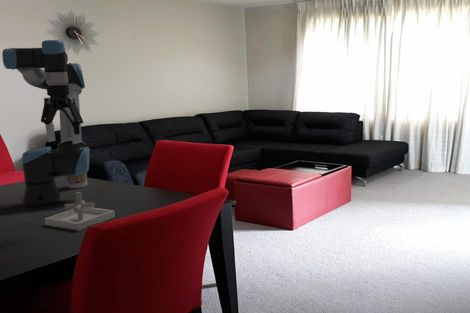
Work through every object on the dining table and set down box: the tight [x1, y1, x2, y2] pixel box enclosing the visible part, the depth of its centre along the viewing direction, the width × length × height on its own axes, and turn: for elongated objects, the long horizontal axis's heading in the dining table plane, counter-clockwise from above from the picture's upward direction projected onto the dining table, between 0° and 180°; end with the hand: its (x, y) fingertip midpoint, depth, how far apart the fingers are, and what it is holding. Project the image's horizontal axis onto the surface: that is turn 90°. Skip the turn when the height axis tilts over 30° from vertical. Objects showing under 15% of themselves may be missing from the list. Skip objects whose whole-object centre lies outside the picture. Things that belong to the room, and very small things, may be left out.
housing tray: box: [44, 207, 116, 232], centre depth 162 cm, size 17×17×2 cm
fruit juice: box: [66, 172, 88, 189], centre depth 219 cm, size 9×9×28 cm
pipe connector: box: [64, 191, 95, 220], centre depth 162 cm, size 10×10×10 cm
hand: (63, 142), depth 166 cm, fingers open, 13 cm apart
